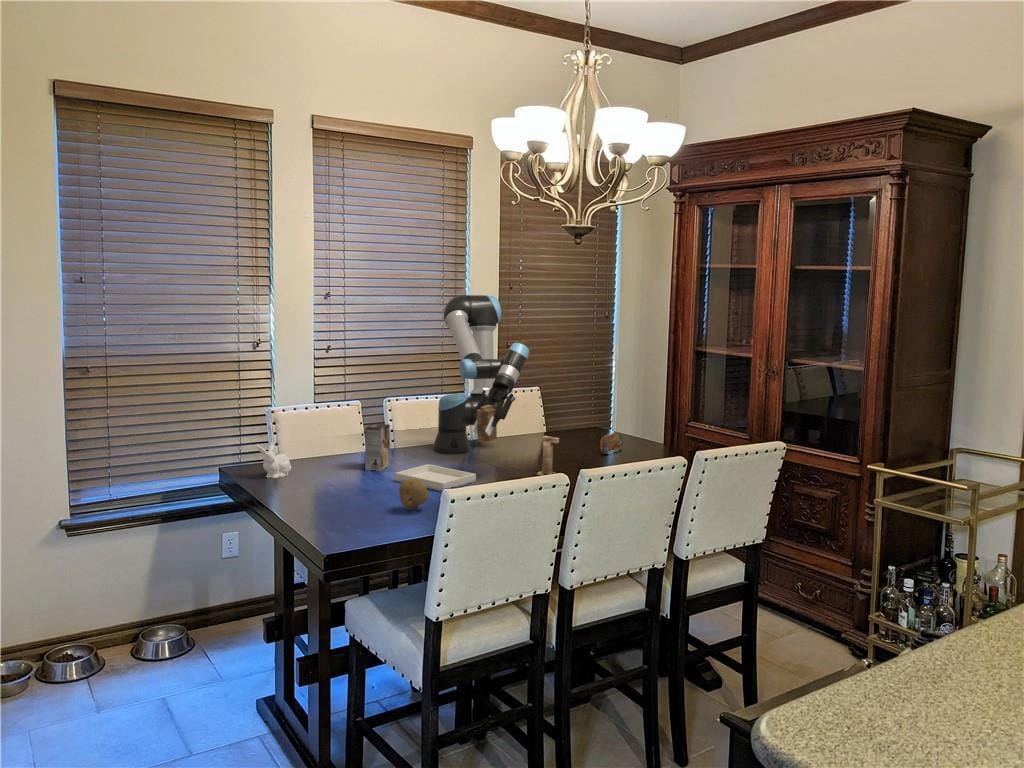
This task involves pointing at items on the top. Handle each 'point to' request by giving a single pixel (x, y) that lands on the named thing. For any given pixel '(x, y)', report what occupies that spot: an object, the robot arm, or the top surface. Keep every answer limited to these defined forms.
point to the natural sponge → (413, 493)
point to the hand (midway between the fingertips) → (480, 432)
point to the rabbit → (275, 463)
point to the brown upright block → (485, 423)
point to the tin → (610, 442)
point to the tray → (436, 476)
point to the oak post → (547, 454)
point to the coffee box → (377, 447)
